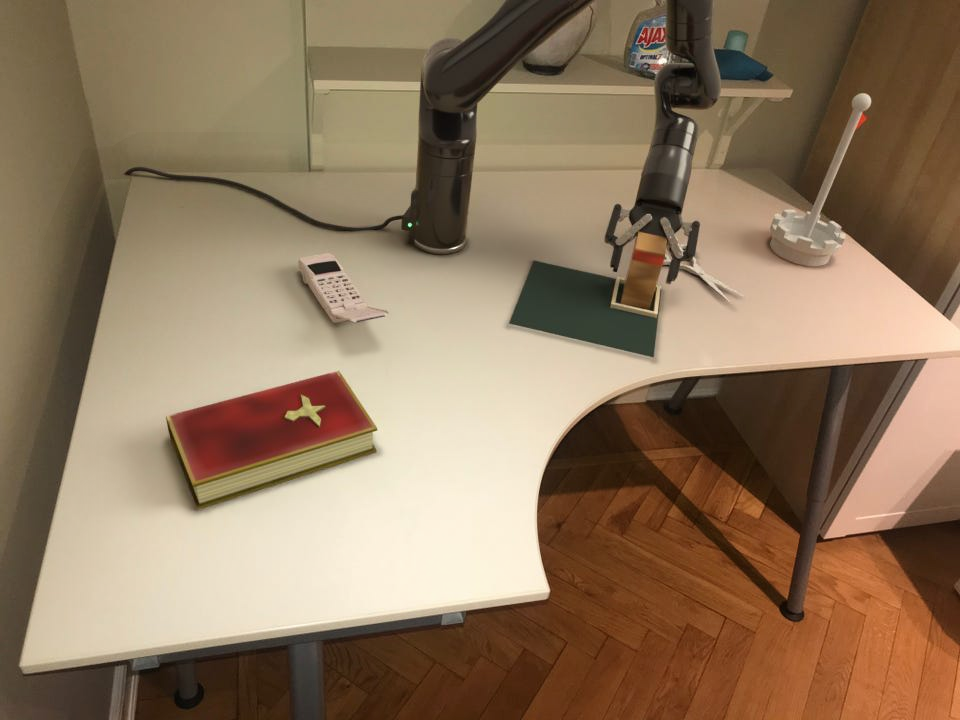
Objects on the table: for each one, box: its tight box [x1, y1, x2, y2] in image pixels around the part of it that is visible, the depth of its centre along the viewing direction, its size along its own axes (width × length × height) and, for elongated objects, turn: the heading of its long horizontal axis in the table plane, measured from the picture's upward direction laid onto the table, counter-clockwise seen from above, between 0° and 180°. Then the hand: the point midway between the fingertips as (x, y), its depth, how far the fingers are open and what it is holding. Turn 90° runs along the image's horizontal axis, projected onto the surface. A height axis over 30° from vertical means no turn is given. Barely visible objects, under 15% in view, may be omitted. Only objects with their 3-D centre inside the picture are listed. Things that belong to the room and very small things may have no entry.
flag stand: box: [769, 92, 872, 267], centre depth 136 cm, size 13×13×30 cm
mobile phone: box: [297, 252, 389, 324], centre depth 113 cm, size 6×6×25 cm
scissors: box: [662, 243, 748, 305], centre depth 133 cm, size 11×1×20 cm
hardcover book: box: [165, 370, 378, 511], centre depth 89 cm, size 12×21×4 cm, turn 121°
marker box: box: [620, 231, 667, 310], centre depth 121 cm, size 5×6×10 cm
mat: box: [508, 260, 662, 358], centre depth 121 cm, size 22×20×1 cm
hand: (641, 276), depth 120 cm, fingers open, 8 cm apart
